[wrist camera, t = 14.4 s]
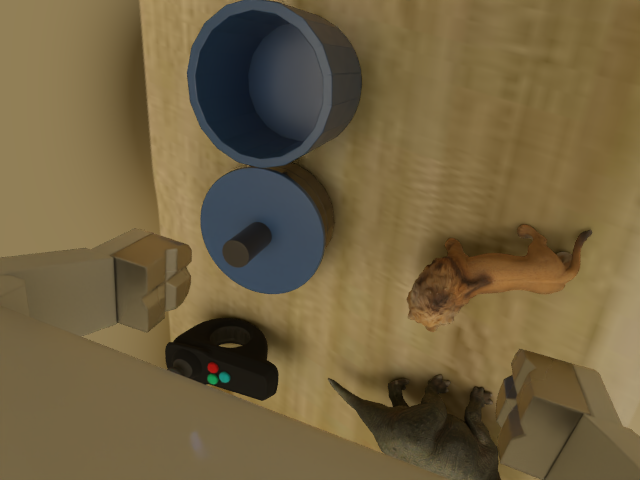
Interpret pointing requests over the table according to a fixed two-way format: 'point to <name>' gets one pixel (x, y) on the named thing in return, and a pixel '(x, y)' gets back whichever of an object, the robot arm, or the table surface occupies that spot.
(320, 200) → the pan
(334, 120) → the pot
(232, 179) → the lid
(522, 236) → the lion figurine
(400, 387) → the toy dinosaur
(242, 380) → the controller
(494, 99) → the table surface
